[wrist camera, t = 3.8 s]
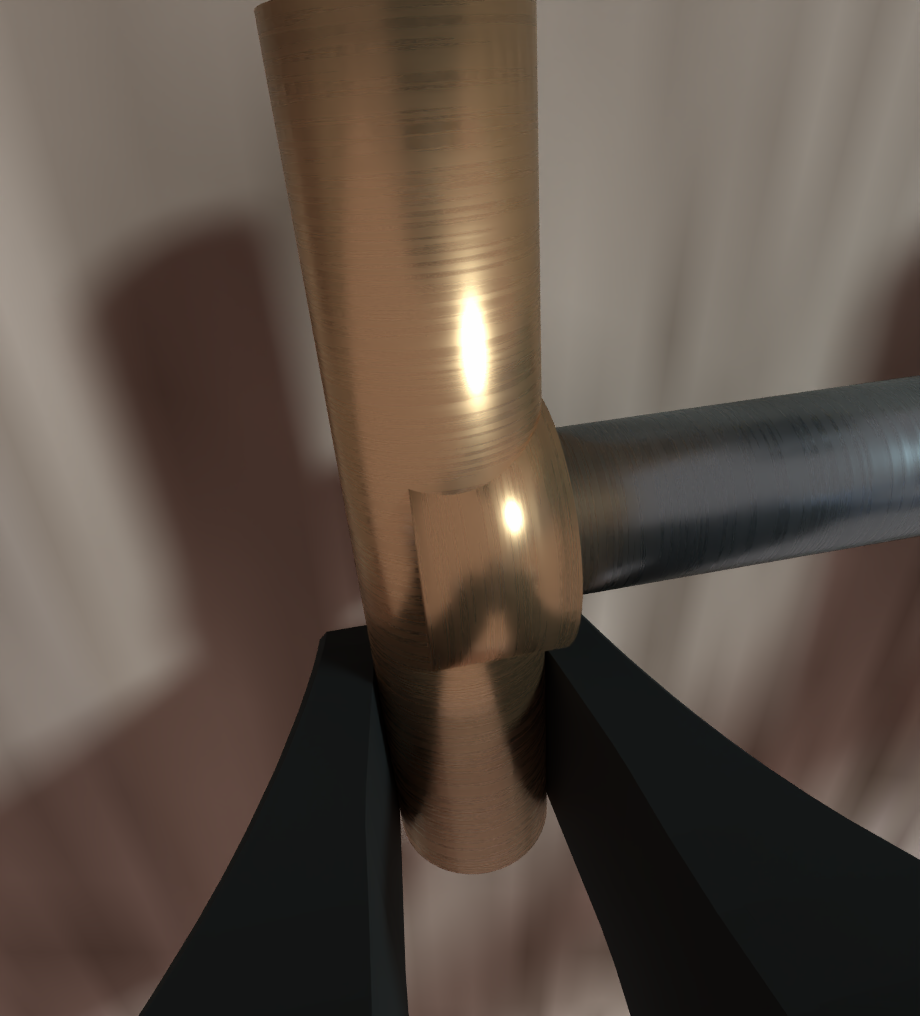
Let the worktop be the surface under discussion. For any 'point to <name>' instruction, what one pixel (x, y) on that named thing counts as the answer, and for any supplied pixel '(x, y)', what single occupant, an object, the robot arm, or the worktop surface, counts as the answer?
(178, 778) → the worktop surface
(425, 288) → the t-handle rod
